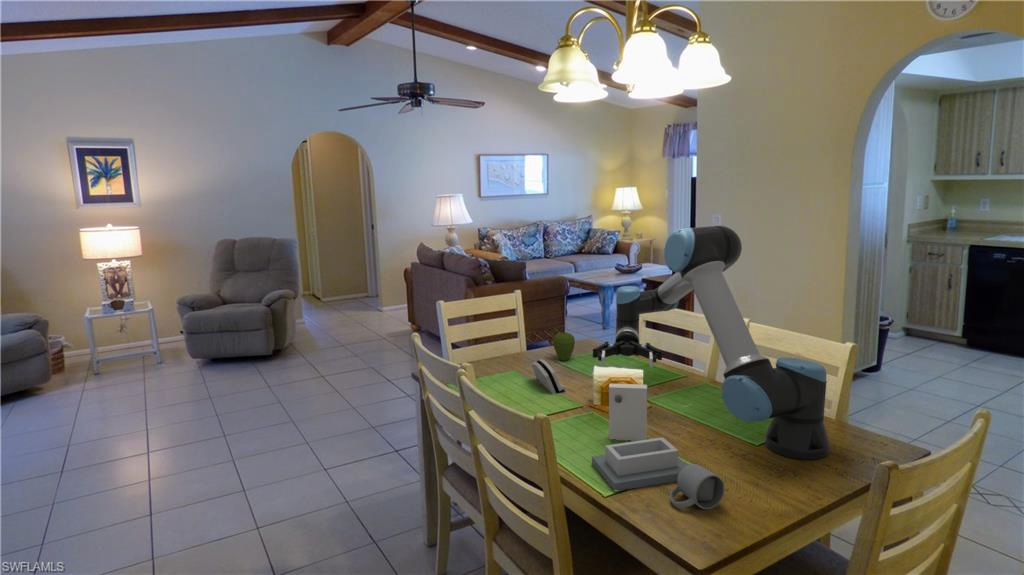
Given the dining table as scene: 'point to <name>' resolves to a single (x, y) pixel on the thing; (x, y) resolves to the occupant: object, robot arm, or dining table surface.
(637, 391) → the cabinet door
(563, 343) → the green vase
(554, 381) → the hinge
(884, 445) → the dining table surface
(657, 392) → the dining table surface
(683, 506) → the ceramic mug
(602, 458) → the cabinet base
